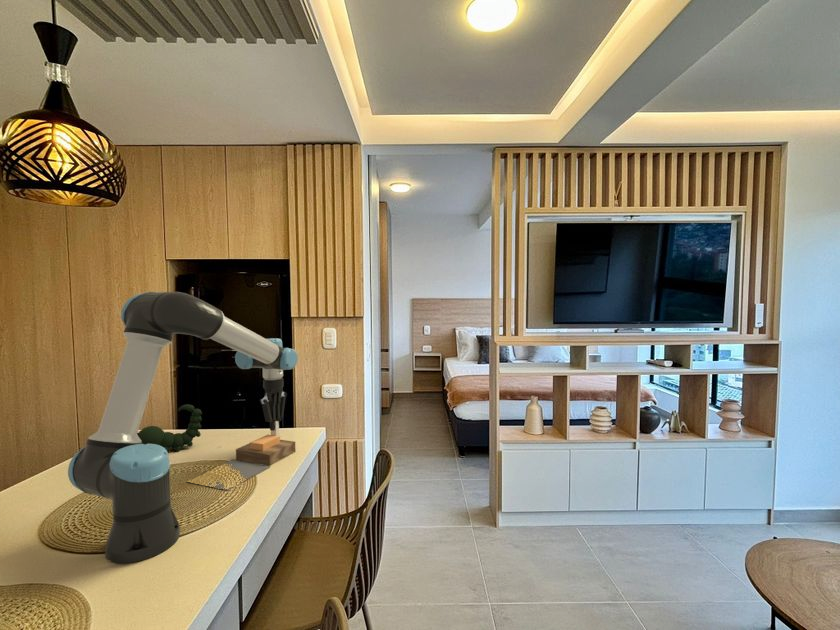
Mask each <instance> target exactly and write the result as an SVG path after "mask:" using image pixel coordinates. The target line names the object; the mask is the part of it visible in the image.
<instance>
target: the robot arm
mask: <svg viewBox="0 0 840 630" xmlns="http://www.w3.org/2000/svg"><path fill="white" fill-rule="evenodd" d="M120 318H121V322H123V326H124V330H123V336H124V338H125V339H126V341H127V342H126V346H125V348H124V351H123V354H122V358H121V359H120V362H119V363H120V364H119V366H118V370H117V373H116V375H115V379H114V381H113V385H112V388H111V391H110V394H109V397H108V400H107V401H106V402H107V404H106V405H105V410H104V411H103V414H102V415H103V416H102V418H101V421H100V424H99V426H98V427H99V428H98V430H97V431H96V432H94V433H93V434H91V435H90V436H88V438H87V440H86V443H85V446H82V448H81V449H80V450H78V451H76V453H75V454H74V455H73V456H72V457H71V459H70V461H69V464H68V468H67V469H68V470H67V475H68V479H69V482H70V483H71V484H72V486H73V487H74V488H76V489H77V490H80V491H81V492H83V493H85V494H88V495H94V496H98V497H101V498H104V499H109V500H111V501H112V503H111V505H112V522H111V523H112V524H111V526H110V530H109V532H108V535H107V539H106V543H105V546H104V553H105V555H104V556H105V559H106V560H107V561H108V562H109V563H110V562H111V563H113V564H131V563H135V562H136V563H137V562H140V561H143V560H147V559H149V558H151V557H155V556H157V555H159V554H161V553H162V552H165V551H166V550H168V549H169V548H171V547H172V546H174V545H175V543H176V542H177V541H178V540H179V539H180V536H181V529H180V527H181V526H180V523H179V521H178V519H177V516H176V515H175V513H174V510H173V508H172V506H171V483H170V477H171V476H170V467H171V464H170V459H169V453H168V452H169V451H168V452H167V450H166V449H165V448H164V447H162V446H160V445H156V444H141V442H142V441H141V439H140V438H139V437H138V435H137V433H139V431H140V430H139V429H140V426H141V423H142V419H143V415H144V413H145V410H146V407H147V403H148V400H149V395H150V392H151V389H152V386H153V384H154V383H153V382H154V379H155V376H156V372H157V369H158V366H159V363H160V359H161V358H162V352H163V350H164V348H165V347H167V346H169V345H171V343H172V341H173V338H174V335H175V334H180V335H188V336H189V335H190V336H194V337H196V338H199V339H201V340H209V339H211V340H212V341H215V342H217V343H219V344H221V345H223V346H225V347H227V348H230V349H232V350H234V351H236V353H235V355H234V360H235V361H234V362H235V364H236V365H237V367H238V368H239V369H241V370H249V369H251V368H252V369H253V368H255V369H257V368H258V369H262V378H263V379H262V388H263V390H264V394H263V395H264V397H263V398H259V402H260V405H261V408H262V413H263V416H264V421H265V422H267V423H269V431H270V435H274V436H280V429H279V428H280V422H281V421H282V419H283V418H284V412H285V405H286V398H287V395H288V393H287V392H285V391H283V387H285V385H284V378H283V377H284V371H287V370H293V369H294V368H295V367H296V366H297V364H298V359H299V358H298V353H297V351H296V350H295V349H293V348H289V347H283V341H282V339H281V338H276V337H275V338H273V337H272V338H265V337H263V336H262V335H260V334H258V333H256V332H254V331H252V330H251V329H248V328H247V327H245V326H243V325H241V324H240V323H238V322H235V321H233V320H232V319H230V318H228V317H227V316H225V314H224V313H223V311H222V310H221V309H219V308H217V307H215V306H214V305H212V304H210V303H209V302H206V301H205V300H203V299H200V298H198V297H196V296H194V295H191V294H188V293H186V292H180V291H167V292H165V291H164V292H160V291H159V292H156V291H148V292H143V293H142V292H141V293H138V294H136V295H133V296H131V297H130V298H129V299H128V300H127V301H126V302H124V304H123V306H122V308H121V312H120Z"/></svg>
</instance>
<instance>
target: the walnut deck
mask: <svg viewBox="0 0 840 630" xmlns="http://www.w3.org/2000/svg"><path fill="white" fill-rule="evenodd" d="M296 449H297V448H296V441H293V440H285V439H280V443H278V444H276V445H274V446H272V447H270V448H268V449H266V450H264V451H261V450H254V449H250V442H249V443H247V444H245V445H242V446H240V447H238V448H236V449H235V459H236V460H237V461H240V460H241V461H242V462H248V463H254V464H259V465H265V466H270V467H271V466H272V465H275V464H276V463H278V462H280V461H281V460H283V459H285V458H288V457H289V456H291V455H292V454H295V453H296Z"/></svg>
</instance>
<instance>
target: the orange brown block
mask: <svg viewBox="0 0 840 630" xmlns="http://www.w3.org/2000/svg"><path fill="white" fill-rule="evenodd" d="M280 440H281V435H279V436H274V435H271V434H266V435H263V436H261V437H260V438H257V439H255V440H252V441H250V442H249V443H250V449H254V450H261V451H264V450H266V449H268V448H270V447H272V446H274V445H276V444H278V443H280Z"/></svg>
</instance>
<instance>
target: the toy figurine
mask: <svg viewBox="0 0 840 630" xmlns="http://www.w3.org/2000/svg"><path fill="white" fill-rule="evenodd" d="M183 410H186V411H188V412H191V416H190V418H189V421H190V422H189V423H188V427H187V428H186V429H185V431H184V432H181V433H180V432H178V433H173V432H171V431H164V430H163V429H162V428H161V427H160V426H157V425H149V426H146V427H143V428H142V429H141V430H139V431H138V433H137V435H138V437H139V438H140V439H141V441H142V442H141V444H156V445H160V446H162V447H164V448H165V449H166V450H167V452H169V451H170V450H171V449H173V450H175V451H176V452H181V450H182V448H183V447H184V446H186V445H187V447H189V448H190V447H192V446H193V439H194V438H196V437H197V438H200V437H201V432H200V431H199V429H201V428H202V424H201V421H202V420H203V419H202V414H203V412H202V410H201V409H200V408H195V406H194V405H192V404H187V403H186V404H183V405H181V406H179V408H178V409H177V412H180V411H183Z"/></svg>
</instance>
